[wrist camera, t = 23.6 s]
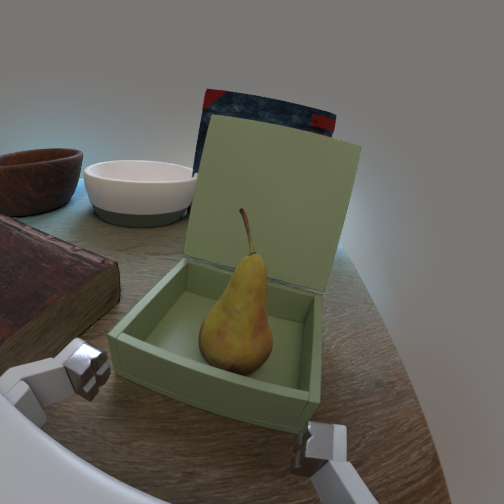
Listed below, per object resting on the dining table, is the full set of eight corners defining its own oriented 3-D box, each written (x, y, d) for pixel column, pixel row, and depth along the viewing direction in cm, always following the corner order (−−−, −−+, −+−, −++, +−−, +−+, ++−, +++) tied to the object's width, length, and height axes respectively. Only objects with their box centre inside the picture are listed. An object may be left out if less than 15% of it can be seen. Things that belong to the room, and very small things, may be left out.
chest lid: (361, 146, 23) (353, 152, 28) (211, 114, 25) (223, 124, 29) (323, 291, 27) (320, 277, 31) (182, 254, 29) (198, 245, 33)
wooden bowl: (37, 230, 36) (34, 168, 32) (-36, 215, 33) (-39, 167, 29) (100, 192, 59) (102, 149, 54) (28, 185, 56) (28, 148, 52)
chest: (299, 434, 17) (320, 403, 15) (114, 373, 19) (106, 334, 17) (309, 327, 29) (322, 294, 27) (181, 291, 31) (184, 257, 29)
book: (306, 226, 62) (333, 116, 52) (311, 238, 55) (341, 114, 45) (193, 205, 61) (212, 92, 51) (185, 214, 54) (205, 87, 44)
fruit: (185, 378, 19) (198, 225, 14) (208, 333, 24) (228, 201, 20) (257, 399, 19) (306, 252, 14) (269, 350, 24) (307, 220, 19)
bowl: (212, 209, 60) (218, 171, 57) (158, 246, 40) (163, 190, 36) (128, 190, 63) (131, 157, 60) (60, 215, 43) (59, 171, 39)
